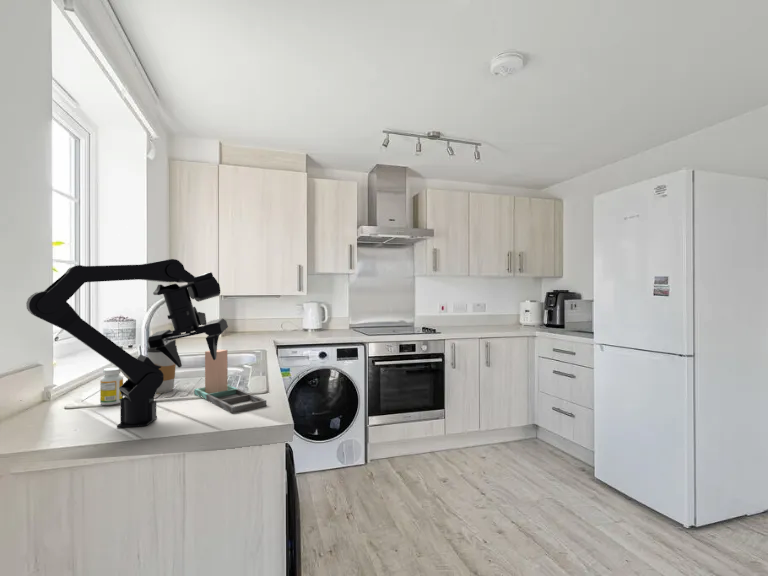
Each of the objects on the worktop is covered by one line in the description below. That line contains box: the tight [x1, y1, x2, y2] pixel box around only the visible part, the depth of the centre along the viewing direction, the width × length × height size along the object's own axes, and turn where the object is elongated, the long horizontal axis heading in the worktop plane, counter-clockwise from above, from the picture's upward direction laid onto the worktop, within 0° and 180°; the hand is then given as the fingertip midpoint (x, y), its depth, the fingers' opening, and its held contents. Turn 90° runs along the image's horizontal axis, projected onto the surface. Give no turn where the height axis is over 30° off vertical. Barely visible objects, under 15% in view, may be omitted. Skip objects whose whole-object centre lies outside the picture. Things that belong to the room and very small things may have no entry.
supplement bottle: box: [99, 367, 124, 406], centre depth 114 cm, size 5×5×10 cm
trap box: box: [194, 384, 267, 414], centre depth 117 cm, size 27×10×2 cm, turn 44°
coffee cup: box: [146, 345, 178, 394], centre depth 127 cm, size 8×8×15 cm
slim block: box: [204, 348, 229, 394], centre depth 123 cm, size 4×4×13 cm
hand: (197, 363), depth 106 cm, fingers open, 9 cm apart
